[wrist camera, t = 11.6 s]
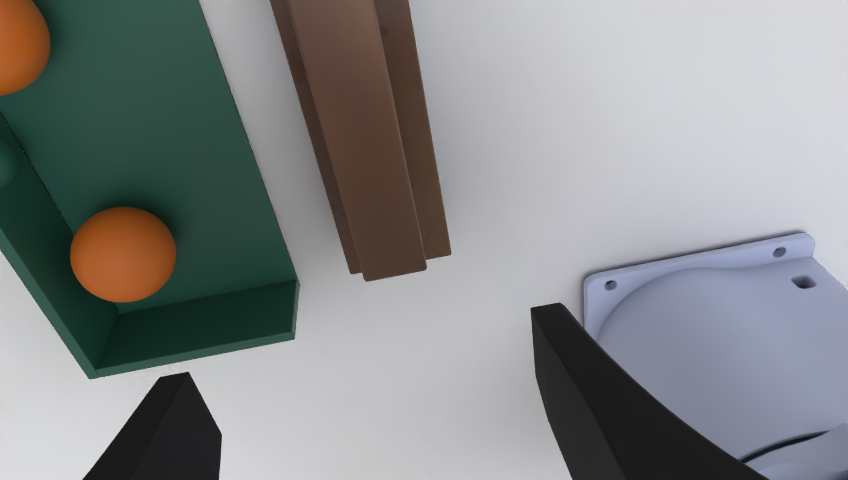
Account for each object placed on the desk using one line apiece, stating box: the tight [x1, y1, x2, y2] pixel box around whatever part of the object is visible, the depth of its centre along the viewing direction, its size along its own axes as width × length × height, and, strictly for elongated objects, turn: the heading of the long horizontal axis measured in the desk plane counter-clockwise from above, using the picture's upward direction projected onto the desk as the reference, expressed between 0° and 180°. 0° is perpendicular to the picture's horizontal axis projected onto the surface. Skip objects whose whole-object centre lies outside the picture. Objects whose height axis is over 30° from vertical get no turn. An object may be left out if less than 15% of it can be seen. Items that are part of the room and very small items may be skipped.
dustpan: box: [0, 0, 300, 379], centre depth 19 cm, size 13×16×3 cm
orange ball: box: [70, 207, 176, 302], centre depth 21 cm, size 3×3×3 cm
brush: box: [270, 0, 451, 282], centre depth 18 cm, size 4×13×6 cm, turn 9°
